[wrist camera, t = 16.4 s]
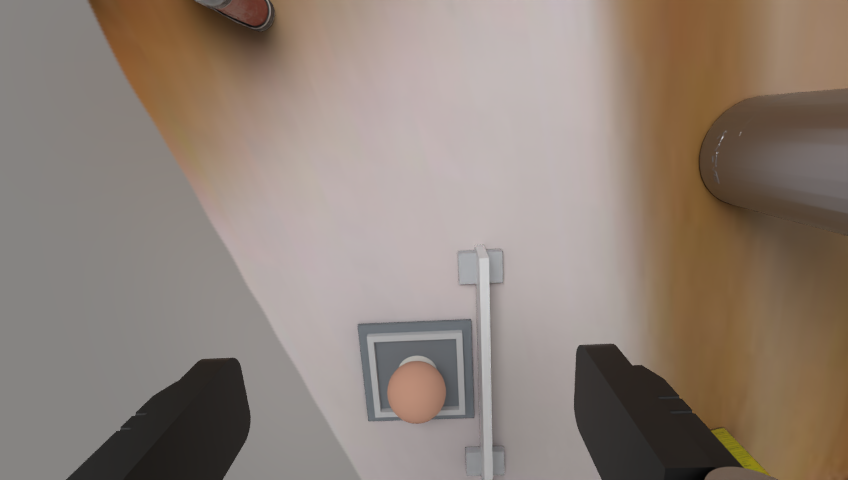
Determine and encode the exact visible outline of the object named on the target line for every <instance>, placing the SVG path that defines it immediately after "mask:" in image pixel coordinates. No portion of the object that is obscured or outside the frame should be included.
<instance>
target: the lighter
mask: <svg viewBox="0 0 848 480" xmlns="http://www.w3.org/2000/svg"><path fill="white" fill-rule="evenodd" d="M195 1H196V2H198V3H200V4H202V5H204V6H206V7H208V8H212V9H213V10H215V11H216V12H218V13H220V14H222V15H224V16H225V17H227V18H229V19H231V20H233V21H235V22H236V23H239V24H241V25H243V26H246V27H248V28H251V29H253V30H256V31H264V30H266V29H268V28H269V27H270V26H271V24H272V23H273V20H274V17H275V10H274V7H273V4H272V3H271V2H270V0H195Z"/></svg>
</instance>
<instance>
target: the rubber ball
mask: <svg viewBox="0 0 848 480" xmlns="http://www.w3.org/2000/svg"><path fill="white" fill-rule="evenodd" d="M387 396H388V401H389V404H390V407H391V409H392V410H393V412H394V413H395V414H396V415H397V416H398V417H399V418H401V419H402V420H404V421H406V422H409V423H416V424H418V423H424V422H427V421H429V420H431V419H432V418H434V417H435V416H436V415H437V414H438V413H439V412H440V410H441V409H442V407H443V405H444V402H445V398H446V387H445V382H444V379H443V377H442V375H441V374H440V372H439V371H438V370H437V369H436V368H435V367H433V366H432V365H430V364H429V363H426V362H422V361H411V362H408V363H405V364H403V365H402V366H400V367H399V368H398V369H397V370H396V371H395V372H394V373H393V375H392V376H391V378H390V380H389V384H388V389H387Z"/></svg>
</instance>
